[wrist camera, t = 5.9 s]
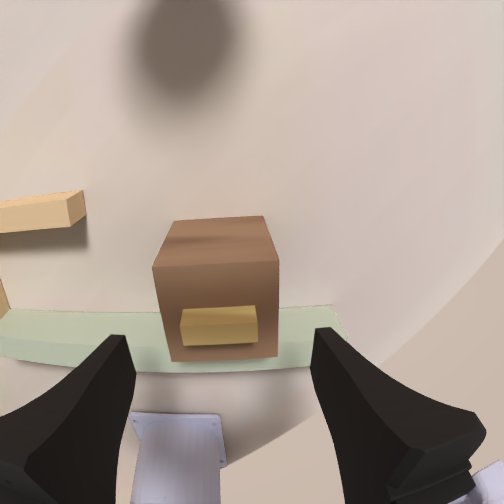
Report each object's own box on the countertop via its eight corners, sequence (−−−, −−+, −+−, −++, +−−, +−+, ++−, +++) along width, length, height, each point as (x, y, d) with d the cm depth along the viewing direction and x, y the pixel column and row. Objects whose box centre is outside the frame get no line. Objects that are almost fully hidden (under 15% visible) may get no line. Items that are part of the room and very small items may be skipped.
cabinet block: (264, 292, 20) (281, 374, 13) (184, 297, 20) (168, 379, 13) (262, 215, 18) (284, 274, 11) (174, 220, 18) (145, 281, 11)
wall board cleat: (327, 329, 21) (342, 362, 18) (6, 328, 20) (-14, 353, 16) (343, 179, 17) (368, 192, 14) (-31, 207, 16) (-61, 223, 12)
